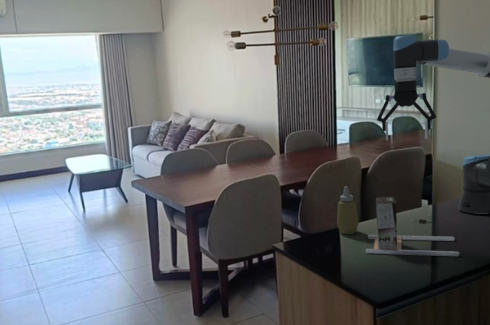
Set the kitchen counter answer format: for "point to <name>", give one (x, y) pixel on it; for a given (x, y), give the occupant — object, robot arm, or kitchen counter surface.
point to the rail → (415, 252)
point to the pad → (391, 249)
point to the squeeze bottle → (347, 213)
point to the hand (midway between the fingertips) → (406, 139)
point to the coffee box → (386, 222)
